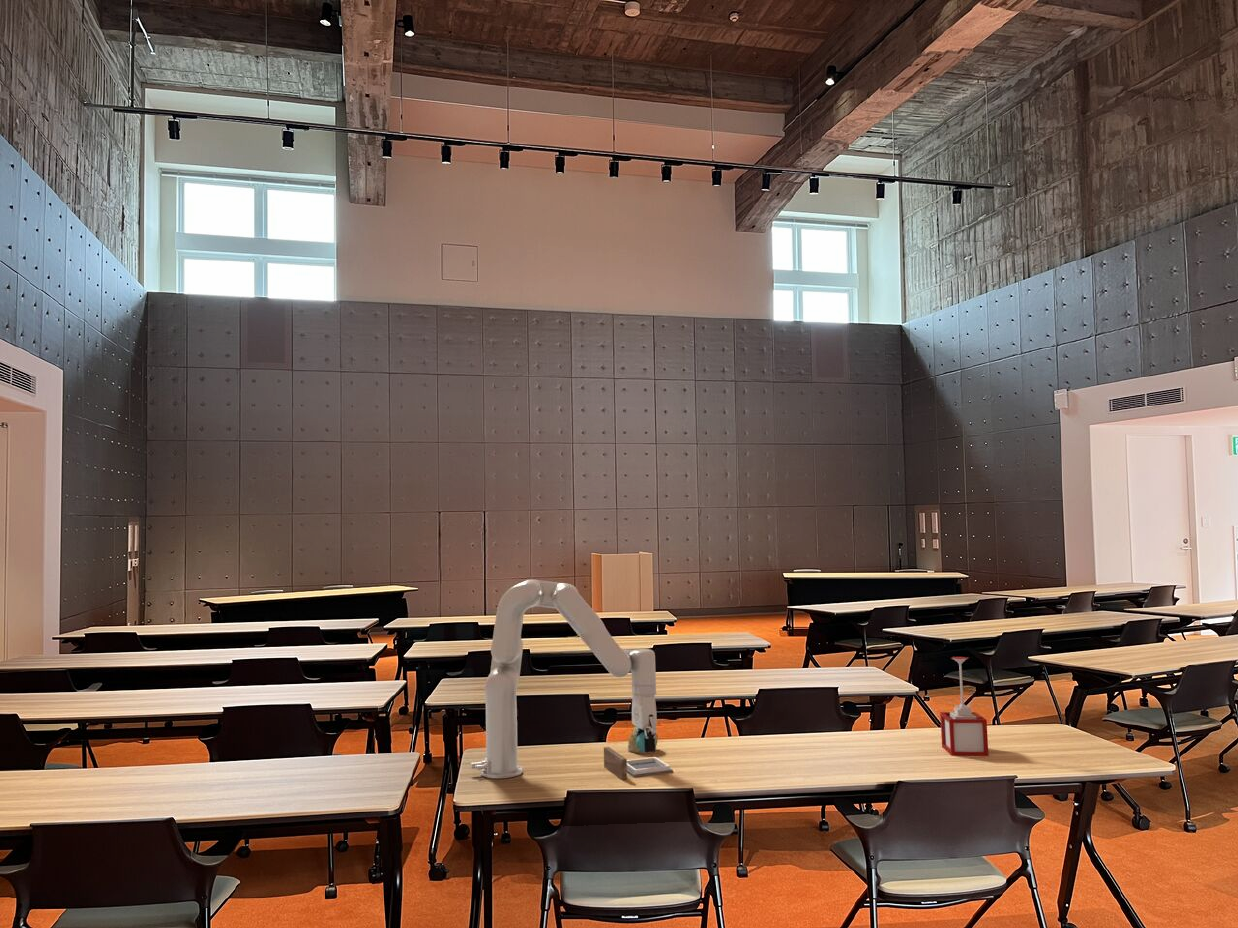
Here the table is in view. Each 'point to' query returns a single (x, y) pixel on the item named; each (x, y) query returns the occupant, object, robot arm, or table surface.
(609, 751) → the low wall
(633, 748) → the rock
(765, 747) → the table surface
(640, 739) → the ball
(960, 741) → the pendant light
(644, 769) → the grey square tray
